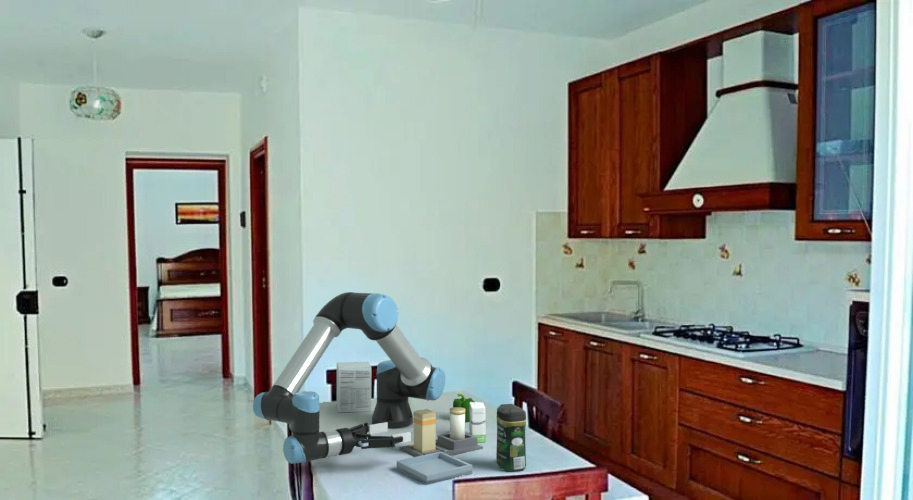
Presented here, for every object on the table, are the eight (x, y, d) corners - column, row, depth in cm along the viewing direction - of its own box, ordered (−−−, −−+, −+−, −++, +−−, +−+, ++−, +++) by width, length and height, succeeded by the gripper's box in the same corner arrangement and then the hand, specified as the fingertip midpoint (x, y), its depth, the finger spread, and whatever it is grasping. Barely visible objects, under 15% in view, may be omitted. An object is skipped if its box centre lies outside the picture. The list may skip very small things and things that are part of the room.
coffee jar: (492, 463, 218) (493, 402, 217) (516, 461, 220) (516, 401, 220) (504, 473, 208) (505, 410, 208) (529, 470, 211) (530, 408, 211)
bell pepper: (478, 418, 270) (478, 392, 270) (471, 424, 262) (471, 397, 262) (457, 416, 273) (457, 390, 273) (449, 422, 265) (450, 395, 265)
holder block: (399, 448, 232) (399, 439, 232) (454, 437, 245) (454, 428, 245) (425, 461, 219) (425, 451, 219) (482, 448, 233) (482, 439, 233)
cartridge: (446, 444, 237) (446, 408, 236) (458, 442, 240) (459, 406, 239) (455, 448, 232) (455, 411, 232) (468, 445, 235) (468, 409, 235)
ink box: (486, 442, 239) (486, 407, 239) (471, 442, 239) (471, 407, 239) (483, 435, 248) (483, 401, 248) (468, 435, 248) (469, 401, 247)
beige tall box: (413, 451, 229) (413, 411, 228) (426, 448, 232) (426, 409, 232) (422, 455, 225) (422, 414, 224) (435, 452, 228) (436, 412, 227)
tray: (396, 469, 212) (396, 460, 211) (440, 459, 221) (440, 451, 221) (426, 484, 199) (426, 475, 199) (472, 473, 208) (472, 465, 208)
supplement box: (371, 411, 280) (372, 367, 280) (337, 413, 277) (337, 368, 277) (368, 403, 293) (368, 361, 293) (336, 405, 290) (336, 362, 290)
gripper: (317, 445, 220) (377, 434, 232) (357, 466, 200) (420, 453, 212) (318, 420, 219) (378, 411, 232) (357, 439, 199) (420, 428, 212)
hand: (398, 431), depth 222 cm, fingers open, 13 cm apart
